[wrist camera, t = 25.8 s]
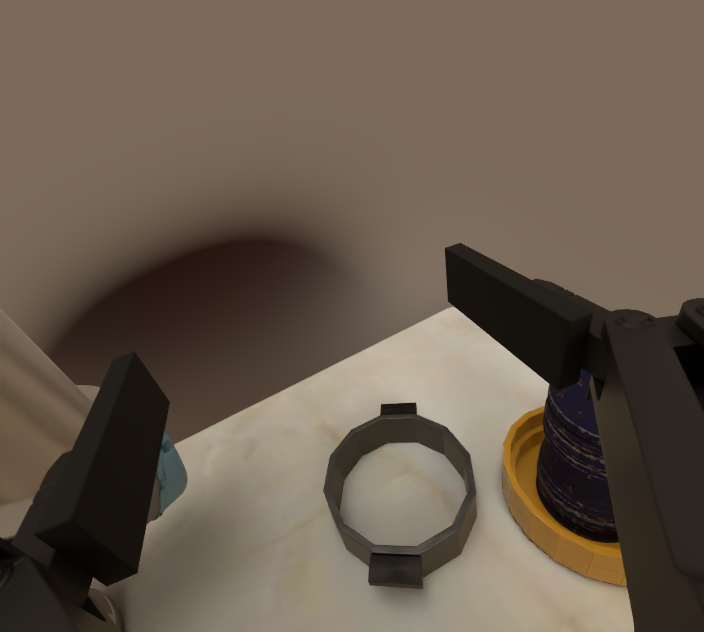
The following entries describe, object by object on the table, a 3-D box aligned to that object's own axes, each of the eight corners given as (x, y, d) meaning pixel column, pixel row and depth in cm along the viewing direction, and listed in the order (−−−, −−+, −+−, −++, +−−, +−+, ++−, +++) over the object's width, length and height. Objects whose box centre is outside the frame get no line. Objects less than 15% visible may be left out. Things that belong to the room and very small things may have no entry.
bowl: (685, 635, 28) (709, 609, 25) (480, 523, 38) (480, 495, 35) (688, 471, 38) (705, 438, 35) (525, 415, 48) (528, 387, 45)
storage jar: (602, 567, 32) (641, 472, 24) (514, 483, 40) (522, 390, 32) (668, 506, 35) (722, 404, 27) (574, 439, 43) (594, 344, 35)
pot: (492, 610, 32) (492, 587, 29) (319, 596, 35) (306, 575, 32) (461, 423, 49) (460, 398, 46) (347, 427, 52) (340, 404, 49)
